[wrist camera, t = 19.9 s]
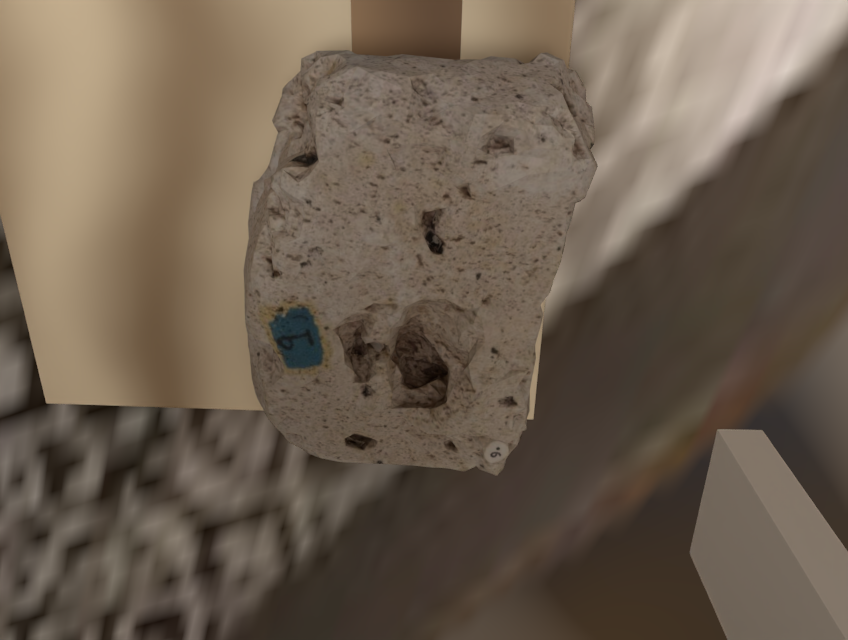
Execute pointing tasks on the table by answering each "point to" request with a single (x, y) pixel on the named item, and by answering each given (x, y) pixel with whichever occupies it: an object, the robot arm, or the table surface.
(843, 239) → the table surface
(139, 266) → the subfloor panel
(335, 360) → the stone
